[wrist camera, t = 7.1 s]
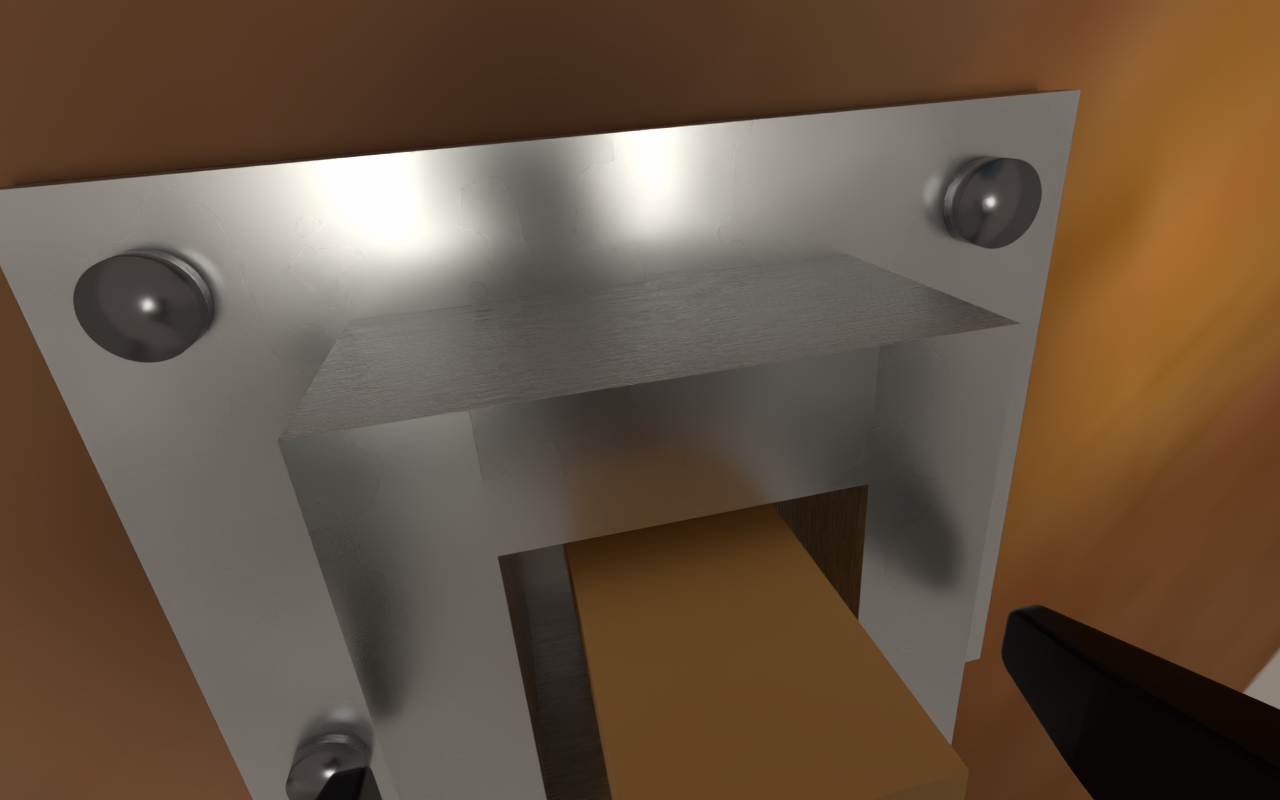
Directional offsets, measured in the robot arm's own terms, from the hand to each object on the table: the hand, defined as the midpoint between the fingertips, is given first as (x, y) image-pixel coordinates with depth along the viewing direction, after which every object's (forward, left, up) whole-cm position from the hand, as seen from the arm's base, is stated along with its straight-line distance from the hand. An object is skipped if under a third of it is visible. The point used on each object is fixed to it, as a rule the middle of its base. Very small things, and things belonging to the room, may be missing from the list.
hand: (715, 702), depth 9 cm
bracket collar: (0, 0, -6) cm, 6 cm away
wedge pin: (0, 0, -5) cm, 5 cm away
